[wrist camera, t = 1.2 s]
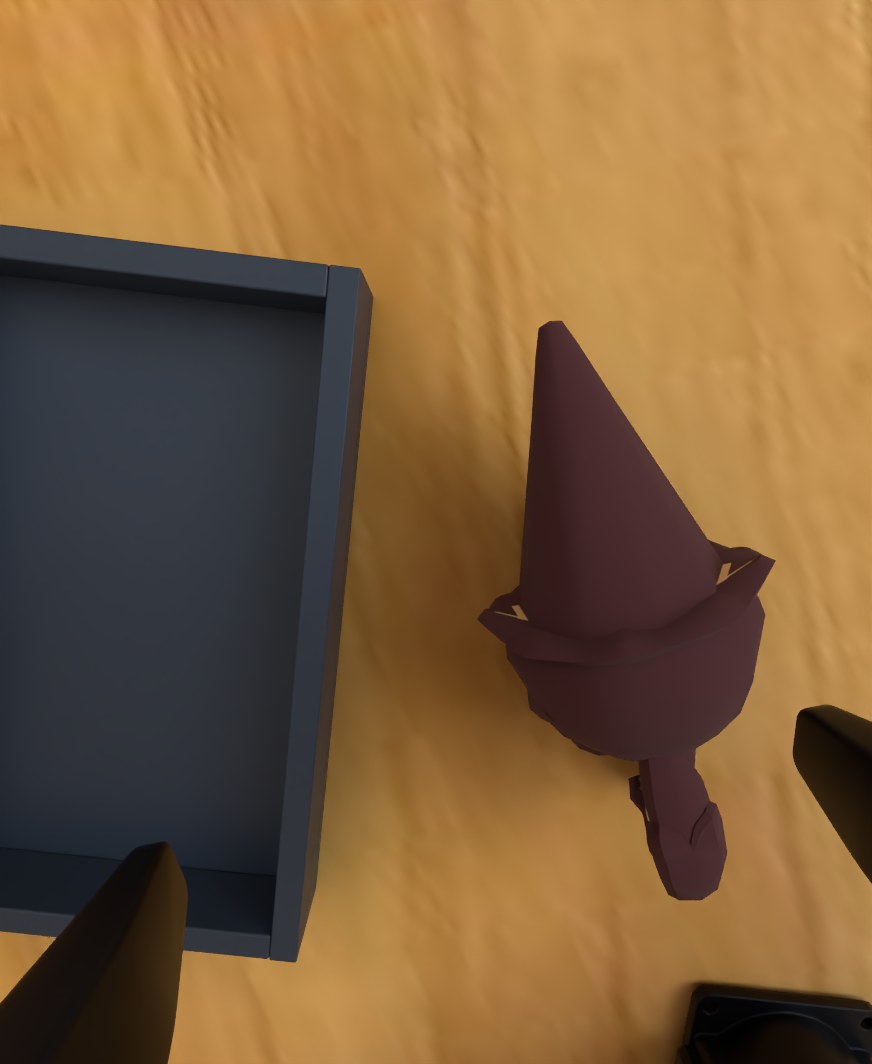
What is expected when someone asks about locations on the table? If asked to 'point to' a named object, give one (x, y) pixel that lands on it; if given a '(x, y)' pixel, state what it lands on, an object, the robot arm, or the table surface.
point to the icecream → (628, 611)
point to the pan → (172, 573)
